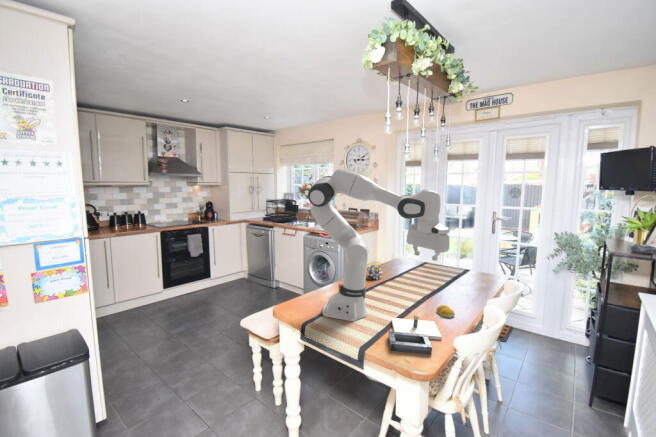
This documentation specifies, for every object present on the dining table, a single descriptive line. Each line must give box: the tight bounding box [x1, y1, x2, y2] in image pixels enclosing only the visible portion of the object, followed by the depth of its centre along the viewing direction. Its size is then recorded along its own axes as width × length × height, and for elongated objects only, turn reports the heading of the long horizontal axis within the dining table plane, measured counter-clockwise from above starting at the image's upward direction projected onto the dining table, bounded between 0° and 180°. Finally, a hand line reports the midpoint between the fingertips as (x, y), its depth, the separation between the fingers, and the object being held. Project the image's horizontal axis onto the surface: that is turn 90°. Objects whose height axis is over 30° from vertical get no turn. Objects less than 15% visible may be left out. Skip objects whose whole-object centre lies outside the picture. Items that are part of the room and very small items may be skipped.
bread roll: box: [436, 304, 455, 319], centre depth 156 cm, size 8×9×4 cm
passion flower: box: [366, 263, 384, 281], centre depth 207 cm, size 11×11×12 cm
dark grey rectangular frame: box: [387, 330, 433, 355], centre depth 125 cm, size 16×10×3 cm, turn 84°
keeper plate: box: [390, 314, 443, 341], centre depth 138 cm, size 20×14×7 cm
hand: (425, 257), depth 133 cm, fingers open, 8 cm apart
